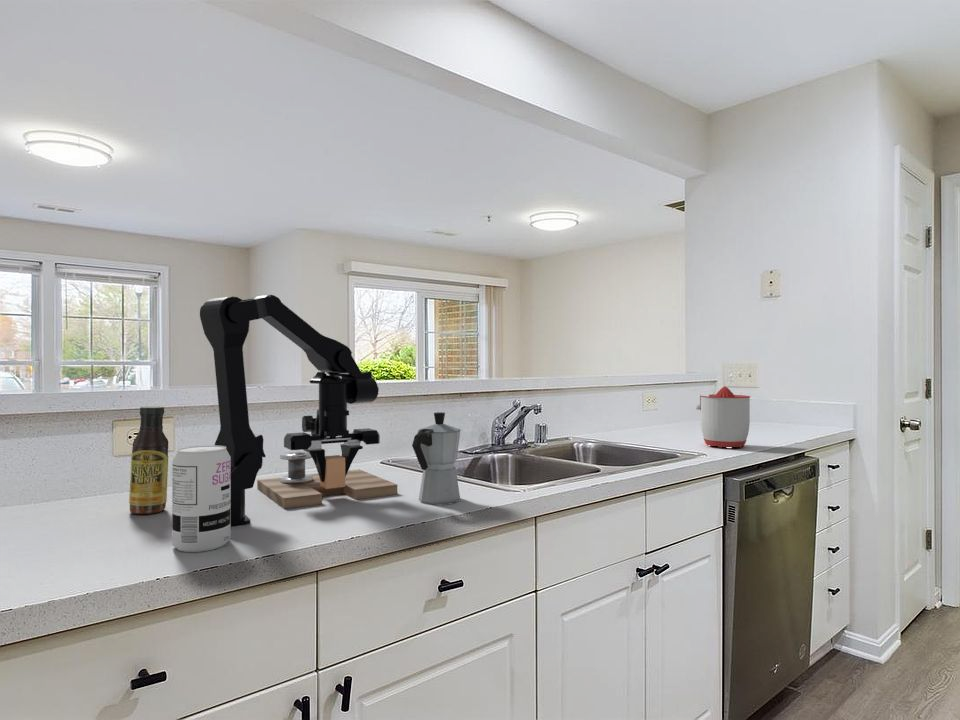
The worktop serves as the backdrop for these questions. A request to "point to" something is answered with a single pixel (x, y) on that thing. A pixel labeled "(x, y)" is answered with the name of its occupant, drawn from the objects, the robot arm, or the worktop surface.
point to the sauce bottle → (149, 464)
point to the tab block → (334, 472)
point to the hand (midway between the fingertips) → (332, 480)
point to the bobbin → (296, 468)
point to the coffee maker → (438, 461)
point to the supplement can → (201, 498)
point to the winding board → (311, 493)
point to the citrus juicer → (725, 418)
